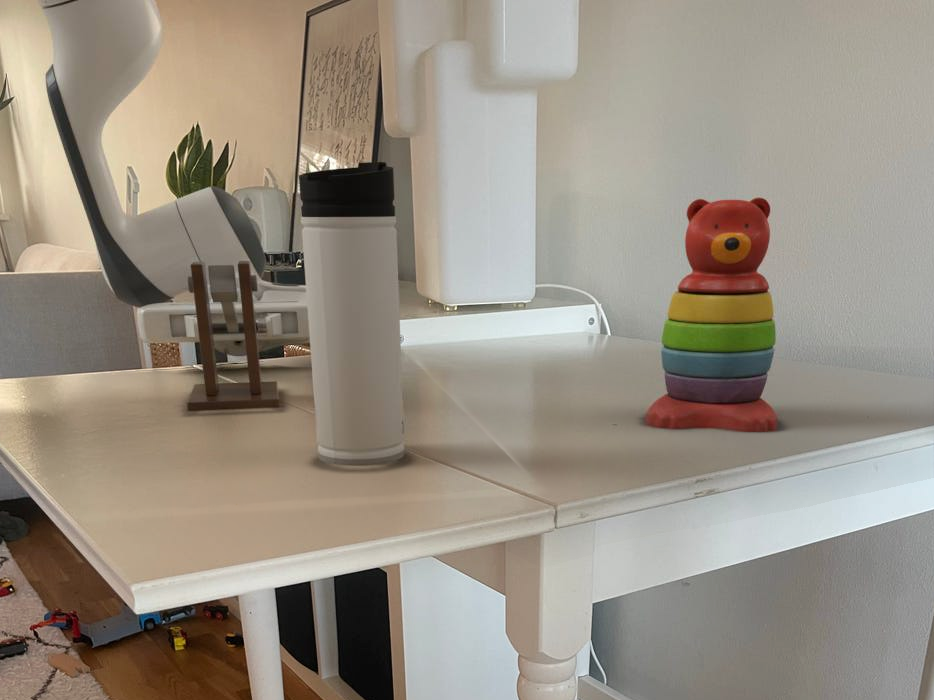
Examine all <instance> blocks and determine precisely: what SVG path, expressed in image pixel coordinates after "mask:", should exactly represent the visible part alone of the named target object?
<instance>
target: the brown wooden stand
mask: <svg viewBox="0 0 934 700" xmlns="http://www.w3.org/2000/svg"><path fill="white" fill-rule="evenodd" d="M238 273H239V283H240V293H241V303H242V313H243V323H244V333H245V343H246V353H247V356H246V361H247V373H248V381H247V382H245V381H244V382H221V383H219V375H218V367H217V358H216V351H215V350H216V349H215V347H214V339H213V330H212V321H211V312H210V303H209V294H208V285H207V277H206V268H205V262H193V263H192V264H191V274H192V276H188V287H189V291H188V292H189V294H193V297H194V298H193V299H194V302H195V307H196V316H197V324H198V333H199V341H200V342H199V348H200V350H199V351H200V357H201V366H202V375H203V382H204V383H194V385H193V387H192V389H191V392H190V394H189V398H188V400H187V403H186V405H187V411H188V412H200V411H201V412H202V411H221V410H243V409H244V410H246V409H247V410H248V409H249V410H250V409H269V408H272V409H273V408H280V399H279V389H278V388H279V387H278V381H277V380H275V381H274V380H272V381H262V375H261V365H260V355H259V353H260V352H259V351H258V342H257V332H256V321H255V311H254V300H253V292H257V291H258V286H257V276H256V275H251V269H250V261H239V262H238Z"/></svg>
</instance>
